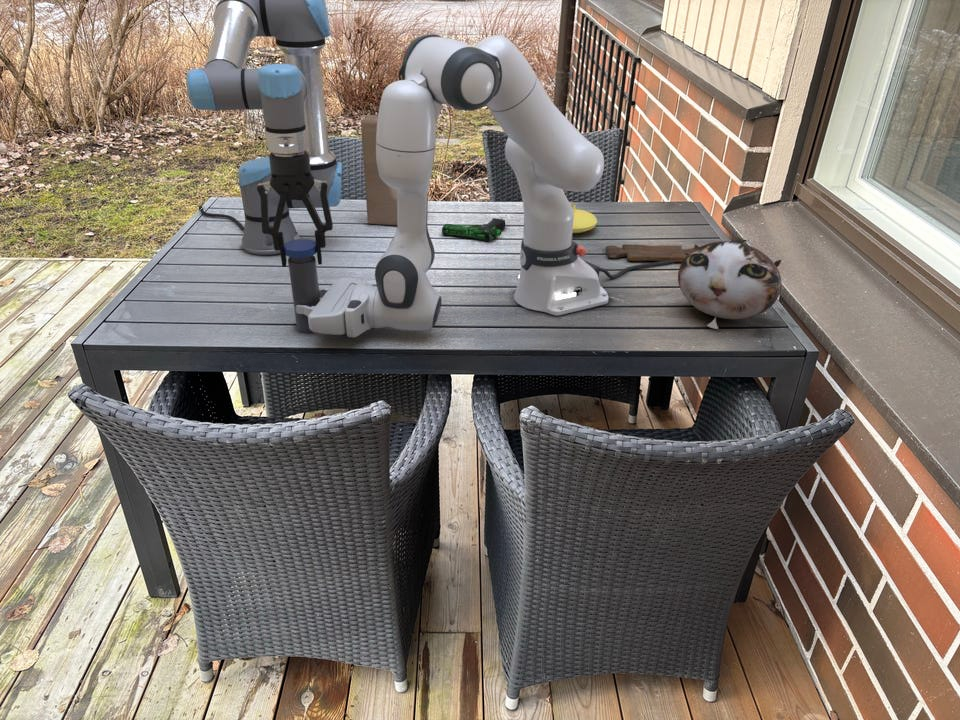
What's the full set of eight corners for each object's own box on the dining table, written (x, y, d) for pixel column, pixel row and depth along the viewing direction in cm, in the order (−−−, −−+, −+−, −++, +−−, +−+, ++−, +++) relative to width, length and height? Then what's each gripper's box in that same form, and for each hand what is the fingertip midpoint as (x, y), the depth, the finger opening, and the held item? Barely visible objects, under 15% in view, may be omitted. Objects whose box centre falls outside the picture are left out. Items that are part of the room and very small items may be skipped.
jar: (298, 321, 159) (289, 247, 150) (324, 320, 159) (316, 247, 150) (295, 333, 154) (285, 258, 145) (321, 332, 154) (313, 257, 146)
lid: (323, 253, 147) (322, 246, 147) (292, 261, 144) (291, 253, 143) (308, 243, 152) (307, 236, 151) (278, 250, 148) (277, 243, 147)
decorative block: (416, 227, 210) (413, 122, 195) (367, 224, 212) (359, 120, 196) (422, 218, 216) (419, 116, 201) (373, 215, 218) (367, 114, 203)
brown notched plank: (705, 264, 190) (697, 250, 198) (707, 258, 189) (698, 245, 198) (608, 261, 190) (604, 247, 199) (609, 255, 189) (605, 241, 198)
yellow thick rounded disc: (559, 216, 220) (561, 193, 217) (605, 227, 212) (608, 204, 209) (532, 230, 209) (533, 207, 206) (580, 242, 201) (582, 218, 198)
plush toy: (655, 305, 156) (684, 221, 158) (671, 327, 172) (697, 250, 173) (760, 330, 146) (790, 239, 147) (766, 351, 161) (793, 268, 163)
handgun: (511, 219, 210) (493, 234, 198) (511, 228, 211) (492, 244, 199) (461, 212, 215) (440, 226, 203) (461, 221, 217) (440, 236, 204)
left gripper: (233, 159, 132) (252, 273, 144) (340, 155, 136) (350, 267, 148) (237, 148, 139) (255, 258, 151) (339, 145, 142) (349, 253, 154)
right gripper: (377, 272, 159) (317, 268, 161) (349, 314, 142) (283, 308, 143) (379, 298, 162) (320, 293, 164) (352, 341, 145) (287, 336, 147)
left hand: (302, 262), depth 149 cm, fingers closed on lid, 6 cm apart
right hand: (302, 301), depth 154 cm, fingers closed on jar, 5 cm apart
